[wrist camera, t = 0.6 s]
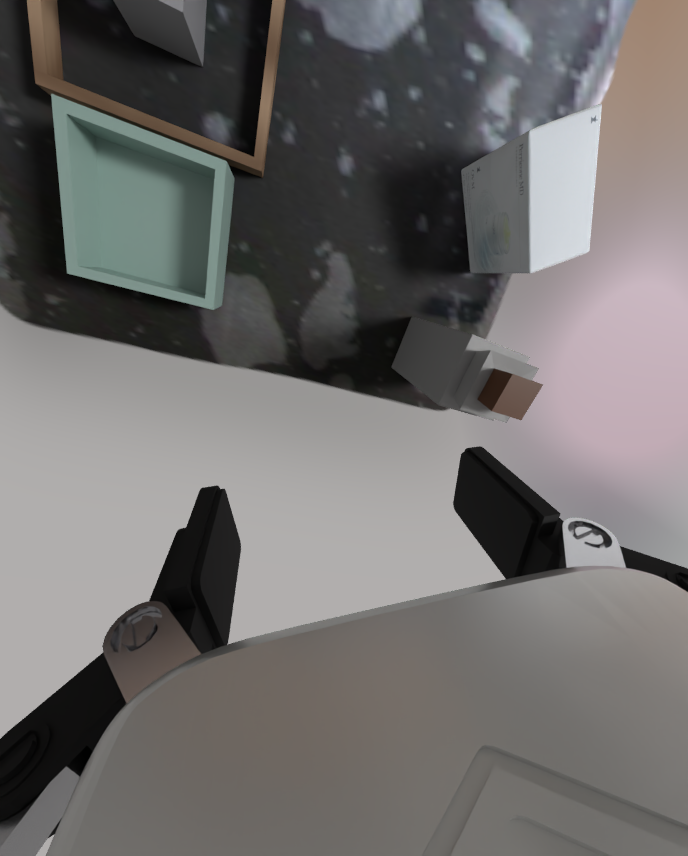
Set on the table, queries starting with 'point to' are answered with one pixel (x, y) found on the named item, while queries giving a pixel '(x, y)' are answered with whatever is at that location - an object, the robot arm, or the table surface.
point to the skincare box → (533, 197)
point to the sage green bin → (141, 207)
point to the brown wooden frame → (51, 81)
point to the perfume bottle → (466, 371)
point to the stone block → (169, 25)
